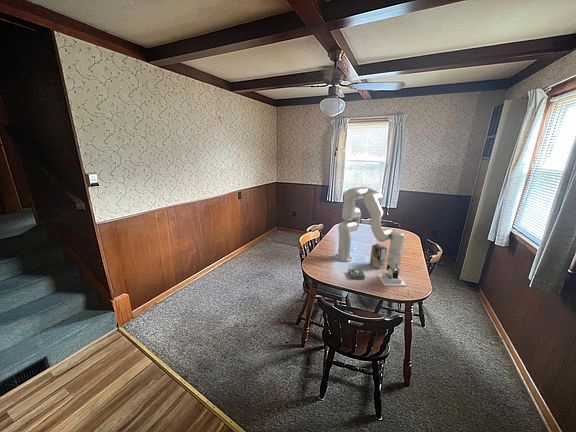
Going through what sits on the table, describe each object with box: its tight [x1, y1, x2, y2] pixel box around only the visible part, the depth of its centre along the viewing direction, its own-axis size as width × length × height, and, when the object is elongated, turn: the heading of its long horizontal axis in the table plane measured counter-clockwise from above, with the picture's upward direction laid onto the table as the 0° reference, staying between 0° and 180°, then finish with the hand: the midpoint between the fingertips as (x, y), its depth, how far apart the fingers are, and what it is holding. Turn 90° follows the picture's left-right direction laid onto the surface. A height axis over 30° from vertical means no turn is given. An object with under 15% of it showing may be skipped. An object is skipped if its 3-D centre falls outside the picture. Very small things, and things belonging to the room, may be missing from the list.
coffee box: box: [369, 243, 388, 270], centre depth 171 cm, size 9×6×16 cm
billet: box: [387, 267, 397, 279], centre depth 152 cm, size 5×5×8 cm
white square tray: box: [377, 272, 407, 287], centre depth 152 cm, size 12×14×4 cm
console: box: [347, 268, 366, 280], centre depth 159 cm, size 9×9×3 cm
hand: (391, 273), depth 152 cm, fingers open, 9 cm apart
